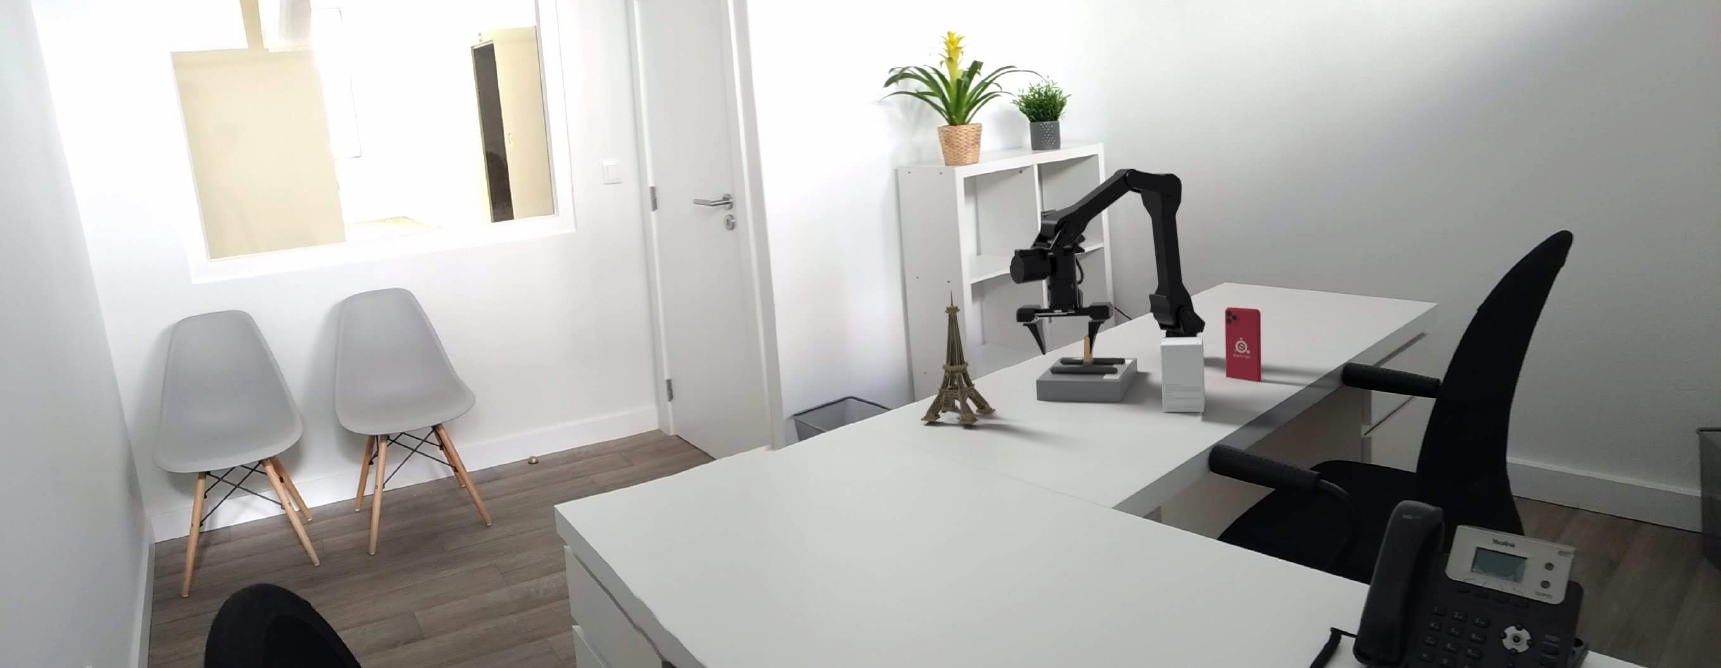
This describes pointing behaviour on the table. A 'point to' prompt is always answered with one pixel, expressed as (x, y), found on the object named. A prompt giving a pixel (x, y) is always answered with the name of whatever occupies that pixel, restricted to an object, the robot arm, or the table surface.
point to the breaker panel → (1087, 380)
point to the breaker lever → (1087, 353)
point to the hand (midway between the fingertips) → (1067, 354)
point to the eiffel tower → (956, 379)
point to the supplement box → (1183, 374)
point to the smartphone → (1243, 343)
